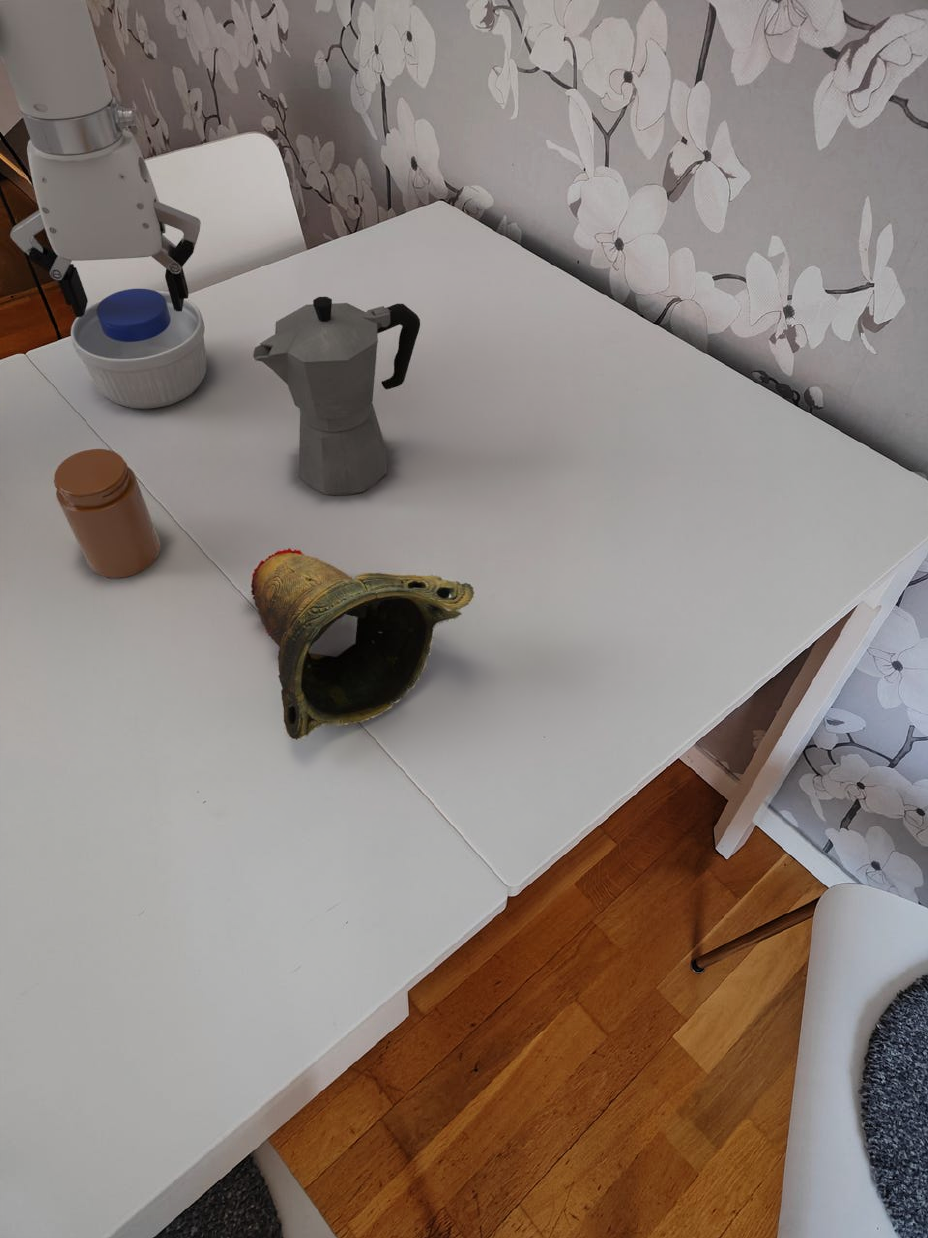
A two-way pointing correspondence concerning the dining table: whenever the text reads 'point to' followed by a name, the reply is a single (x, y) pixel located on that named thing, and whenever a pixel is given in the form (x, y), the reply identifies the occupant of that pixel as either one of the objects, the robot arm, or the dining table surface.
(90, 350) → the ramekin
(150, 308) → the lid
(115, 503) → the jar
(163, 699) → the dining table surface
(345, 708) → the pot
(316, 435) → the coffeepot
